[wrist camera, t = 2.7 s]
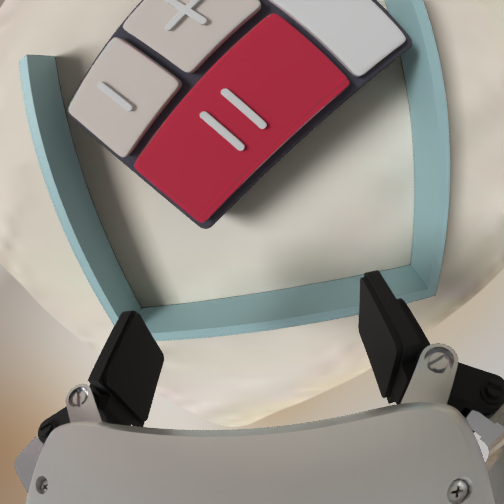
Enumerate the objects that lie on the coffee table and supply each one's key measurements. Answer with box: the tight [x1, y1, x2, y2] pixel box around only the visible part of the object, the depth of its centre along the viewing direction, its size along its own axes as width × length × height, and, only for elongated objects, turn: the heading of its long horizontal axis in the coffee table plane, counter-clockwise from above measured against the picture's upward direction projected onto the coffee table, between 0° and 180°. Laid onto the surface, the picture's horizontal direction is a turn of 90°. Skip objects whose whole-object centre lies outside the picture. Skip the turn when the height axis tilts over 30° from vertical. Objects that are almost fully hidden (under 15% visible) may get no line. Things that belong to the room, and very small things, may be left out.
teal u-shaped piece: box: [19, 0, 450, 341], centre depth 13 cm, size 23×21×3 cm
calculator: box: [67, 0, 412, 229], centre depth 11 cm, size 11×4×15 cm
